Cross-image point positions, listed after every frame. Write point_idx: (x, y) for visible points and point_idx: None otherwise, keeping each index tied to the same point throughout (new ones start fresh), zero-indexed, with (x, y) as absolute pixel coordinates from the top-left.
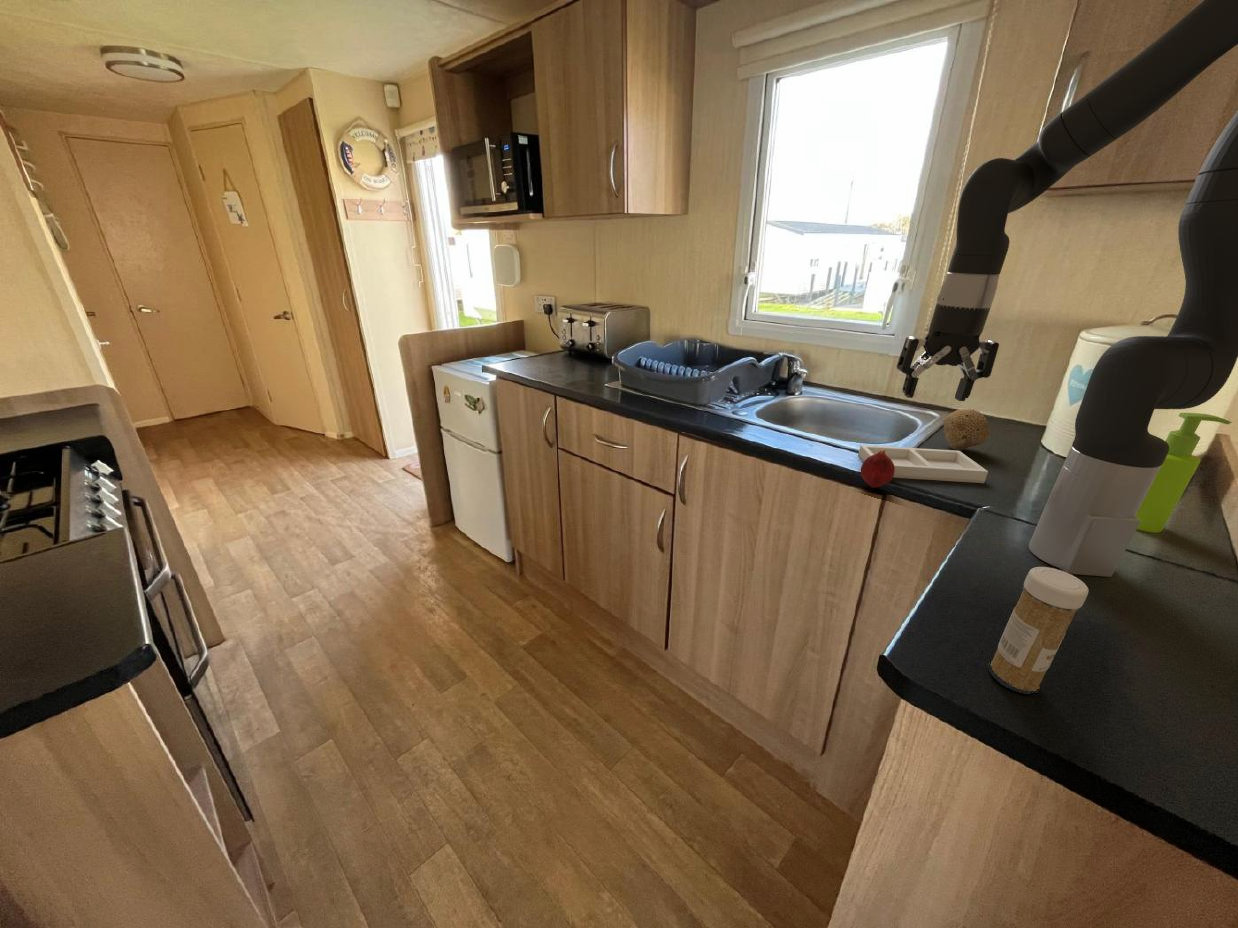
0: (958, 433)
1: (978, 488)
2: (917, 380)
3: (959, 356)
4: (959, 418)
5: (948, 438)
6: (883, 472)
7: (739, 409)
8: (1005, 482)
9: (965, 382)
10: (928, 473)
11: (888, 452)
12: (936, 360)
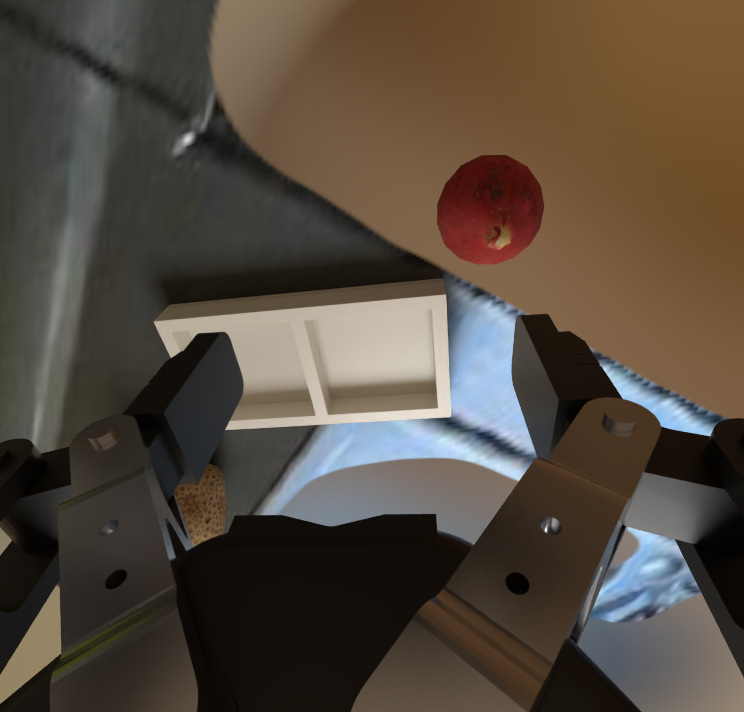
0: (198, 487)
1: (186, 268)
2: (559, 384)
3: (197, 628)
4: (190, 530)
5: (221, 480)
6: (494, 162)
7: (651, 583)
8: (120, 321)
9: (177, 414)
10: (304, 299)
11: (377, 404)
12: (499, 543)
